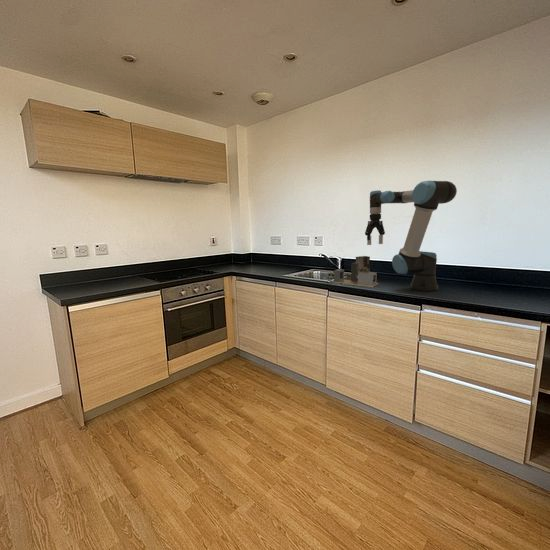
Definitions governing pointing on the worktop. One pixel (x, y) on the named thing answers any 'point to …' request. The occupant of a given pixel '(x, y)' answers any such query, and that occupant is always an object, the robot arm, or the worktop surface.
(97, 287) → the worktop surface
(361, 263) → the coffee box
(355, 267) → the brown stepped block
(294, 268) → the worktop surface
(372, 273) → the guide
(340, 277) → the socket
